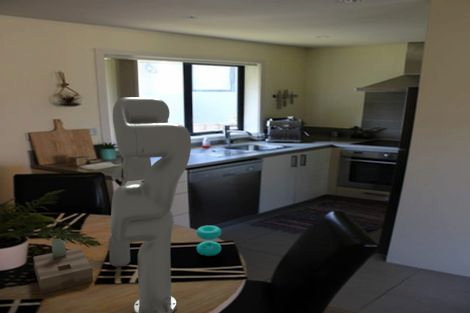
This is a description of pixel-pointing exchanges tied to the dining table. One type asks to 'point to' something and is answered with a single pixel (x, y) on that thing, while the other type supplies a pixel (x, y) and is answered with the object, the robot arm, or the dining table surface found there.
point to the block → (62, 270)
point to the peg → (58, 249)
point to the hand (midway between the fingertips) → (136, 195)
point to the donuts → (208, 246)
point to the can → (118, 253)
